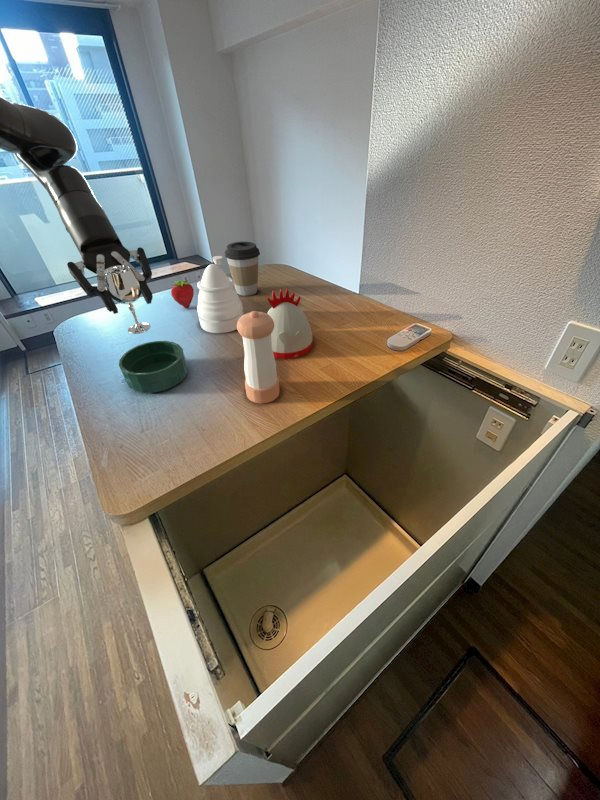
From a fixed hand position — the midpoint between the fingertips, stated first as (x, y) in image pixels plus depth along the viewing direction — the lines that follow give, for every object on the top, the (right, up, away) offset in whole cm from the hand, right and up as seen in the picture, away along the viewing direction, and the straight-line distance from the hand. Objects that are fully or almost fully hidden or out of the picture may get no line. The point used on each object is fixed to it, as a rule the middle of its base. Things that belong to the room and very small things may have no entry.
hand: (133, 306), depth 63 cm
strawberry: (-4, +11, +41) cm, 43 cm away
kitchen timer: (+29, -3, +24) cm, 38 cm away
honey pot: (+9, +5, +34) cm, 35 cm away
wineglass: (-1, -3, +5) cm, 6 cm away
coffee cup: (+14, +19, +50) cm, 56 cm away
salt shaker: (+24, -17, +9) cm, 31 cm away
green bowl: (-1, -12, +14) cm, 19 cm away
